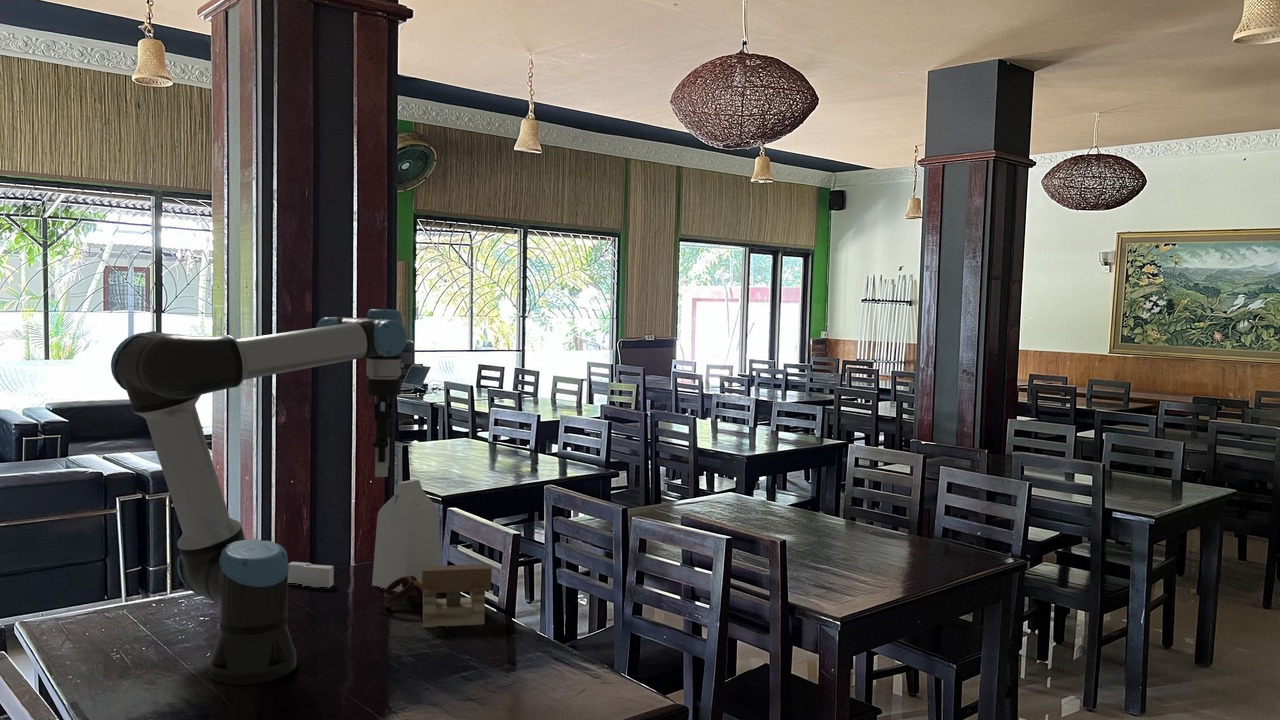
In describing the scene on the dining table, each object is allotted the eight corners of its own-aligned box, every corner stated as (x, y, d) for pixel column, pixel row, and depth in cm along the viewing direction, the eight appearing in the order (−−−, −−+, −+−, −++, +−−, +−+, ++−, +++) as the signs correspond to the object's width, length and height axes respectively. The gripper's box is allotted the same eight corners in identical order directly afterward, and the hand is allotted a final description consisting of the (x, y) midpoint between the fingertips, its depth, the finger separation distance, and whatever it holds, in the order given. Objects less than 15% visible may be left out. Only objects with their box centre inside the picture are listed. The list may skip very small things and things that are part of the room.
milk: (407, 575, 234) (409, 475, 233) (440, 583, 229) (442, 480, 227) (371, 586, 224) (373, 481, 223) (405, 594, 218) (407, 487, 217)
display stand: (484, 624, 200) (485, 588, 199) (423, 627, 196) (424, 591, 196) (480, 609, 209) (481, 575, 209) (422, 612, 206) (423, 577, 206)
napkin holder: (345, 588, 223) (346, 565, 223) (300, 597, 215) (301, 573, 215) (317, 574, 234) (318, 552, 234) (274, 583, 226) (274, 560, 226)
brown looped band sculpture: (431, 616, 205) (414, 587, 203) (393, 633, 205) (375, 605, 203) (435, 587, 217) (419, 560, 214) (399, 603, 217) (382, 576, 214)
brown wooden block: (491, 590, 203) (491, 568, 202) (422, 593, 199) (422, 571, 199) (489, 585, 206) (490, 563, 206) (421, 588, 203) (422, 566, 202)
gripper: (400, 382, 194) (398, 481, 195) (401, 374, 218) (399, 461, 219) (364, 382, 192) (362, 481, 193) (368, 373, 216) (367, 462, 217)
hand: (382, 471), depth 206 cm, fingers open, 13 cm apart
